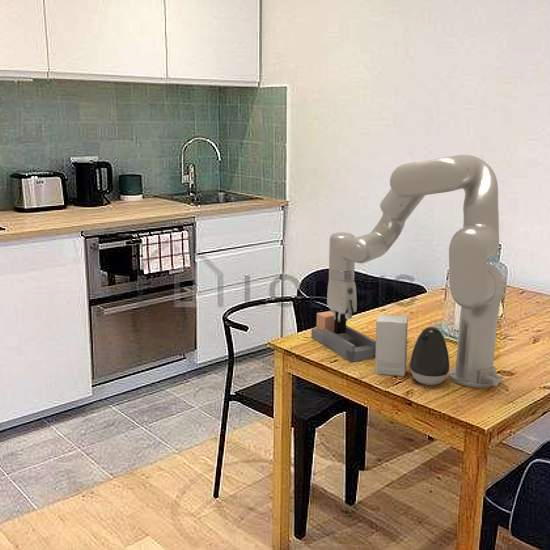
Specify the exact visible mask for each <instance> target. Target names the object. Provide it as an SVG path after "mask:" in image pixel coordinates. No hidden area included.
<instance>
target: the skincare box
mask: <svg viewBox="0 0 550 550" xmlns="http://www.w3.org/2000/svg"><path fill="white" fill-rule="evenodd" d="M408 320H409V315H402V314H401V315H400V314H398V315H396V314H385V313H384V314H383V313H379V314H378V316H377V318H376V321H375V341H376V358H375V360H374V361H375V367H374V368H375V374H376V375H387V376H399V377H405V375H406V371H407V360H408V359H407V358H408V357H407V356H408V329H409V327H408V326H409V325H408V324H409V323H408V322H409V321H408Z"/></svg>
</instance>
